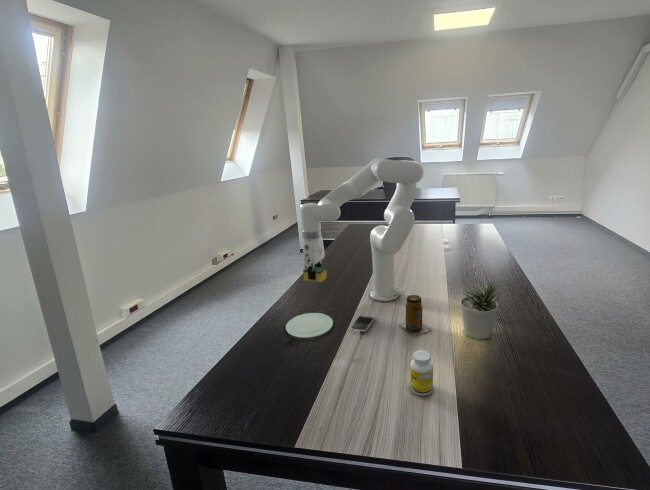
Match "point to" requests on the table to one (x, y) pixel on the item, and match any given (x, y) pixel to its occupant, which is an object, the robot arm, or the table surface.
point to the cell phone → (362, 323)
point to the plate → (309, 325)
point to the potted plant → (479, 312)
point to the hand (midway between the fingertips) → (315, 276)
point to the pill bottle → (421, 373)
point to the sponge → (319, 273)
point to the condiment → (414, 316)
